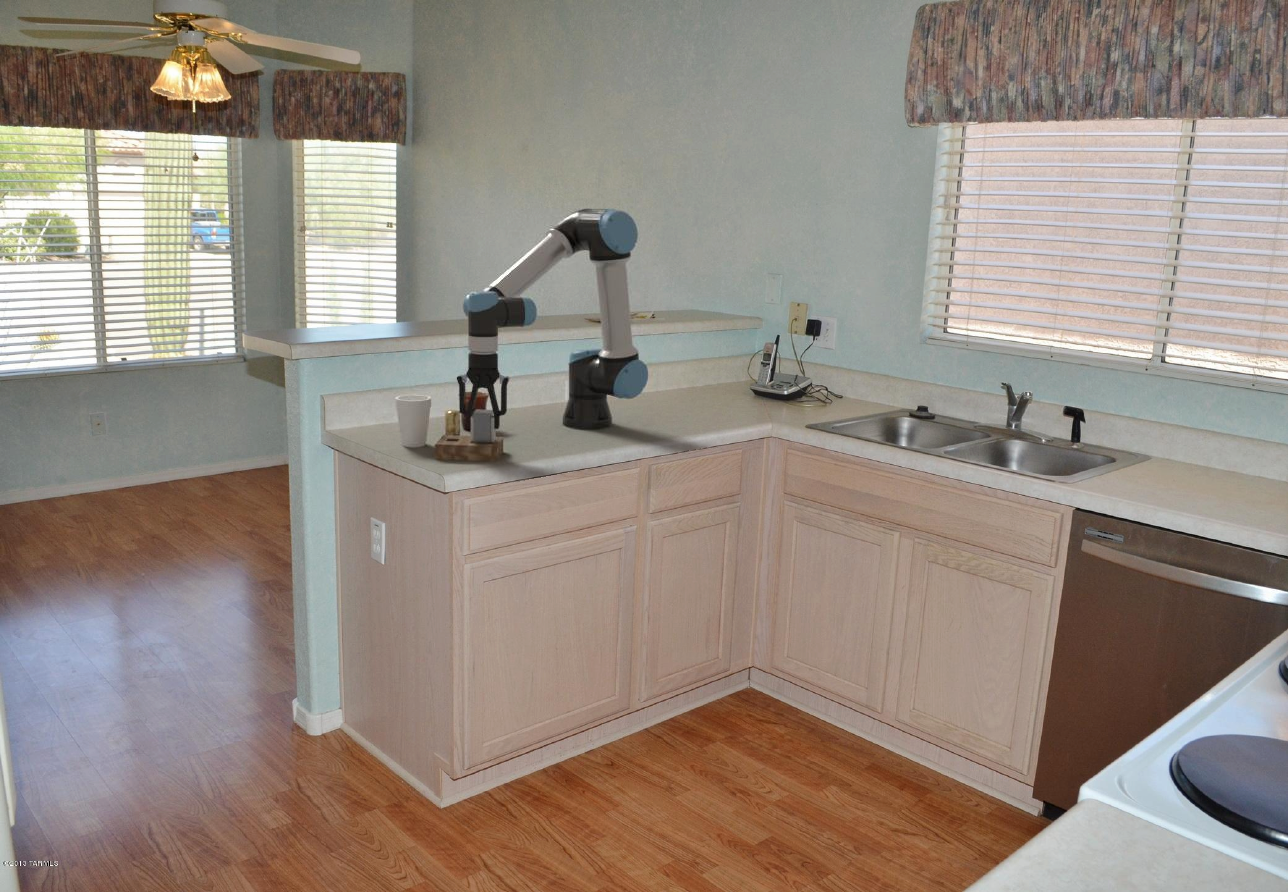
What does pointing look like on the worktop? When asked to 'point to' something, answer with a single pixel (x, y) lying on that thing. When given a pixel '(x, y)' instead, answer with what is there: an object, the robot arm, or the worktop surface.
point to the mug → (479, 404)
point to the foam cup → (413, 419)
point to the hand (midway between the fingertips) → (483, 440)
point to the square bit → (482, 426)
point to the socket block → (467, 449)
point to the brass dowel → (452, 422)
